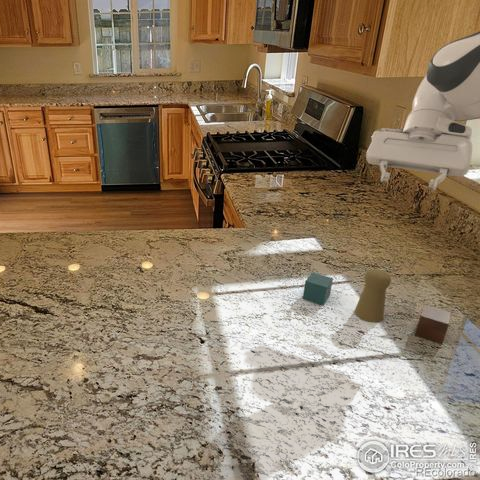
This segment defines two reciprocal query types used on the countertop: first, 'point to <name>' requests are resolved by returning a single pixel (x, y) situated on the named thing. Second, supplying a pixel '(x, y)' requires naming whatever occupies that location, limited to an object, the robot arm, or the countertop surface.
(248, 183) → the countertop surface
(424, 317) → the block walnut
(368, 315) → the cork
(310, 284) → the block teal
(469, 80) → the robot arm
